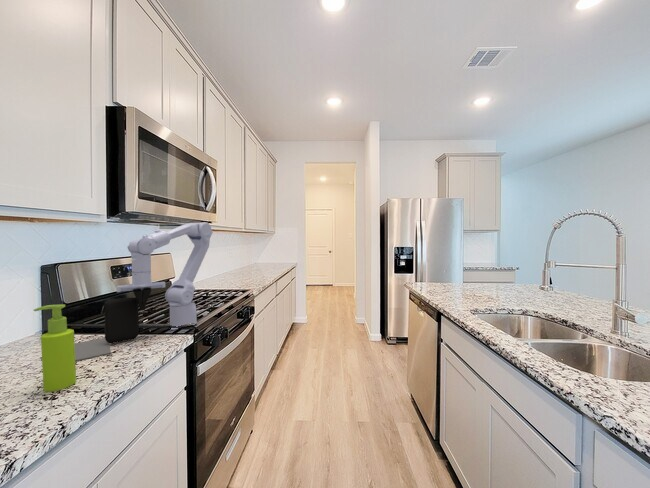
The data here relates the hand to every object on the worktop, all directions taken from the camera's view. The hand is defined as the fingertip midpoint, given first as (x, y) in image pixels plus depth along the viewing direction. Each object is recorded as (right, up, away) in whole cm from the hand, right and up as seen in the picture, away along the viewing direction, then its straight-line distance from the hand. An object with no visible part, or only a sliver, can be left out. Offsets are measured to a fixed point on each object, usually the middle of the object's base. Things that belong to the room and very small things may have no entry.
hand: (142, 309), depth 100 cm
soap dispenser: (-1, -12, -31) cm, 33 cm away
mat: (-13, -11, -10) cm, 20 cm away
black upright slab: (-5, -10, -4) cm, 12 cm away
